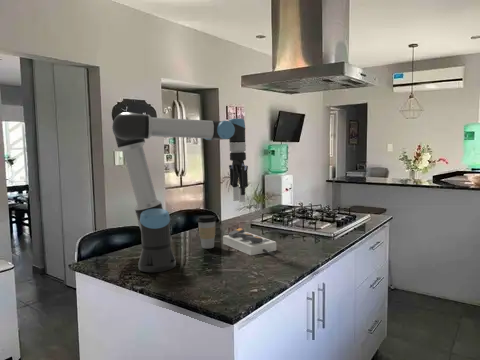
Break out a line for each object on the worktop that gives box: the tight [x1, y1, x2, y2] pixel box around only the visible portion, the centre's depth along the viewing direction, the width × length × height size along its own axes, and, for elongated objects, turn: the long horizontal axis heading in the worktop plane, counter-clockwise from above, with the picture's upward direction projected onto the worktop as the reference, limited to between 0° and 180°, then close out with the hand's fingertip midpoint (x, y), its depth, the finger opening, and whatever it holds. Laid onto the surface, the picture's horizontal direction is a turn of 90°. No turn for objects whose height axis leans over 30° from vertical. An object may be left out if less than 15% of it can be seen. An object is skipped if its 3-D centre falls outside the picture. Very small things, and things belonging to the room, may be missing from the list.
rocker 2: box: [236, 233, 253, 238], centre depth 187 cm, size 7×4×2 cm, turn 121°
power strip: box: [222, 231, 277, 256], centre depth 185 cm, size 14×34×5 cm, turn 31°
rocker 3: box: [245, 236, 263, 242], centre depth 180 cm, size 7×4×2 cm, turn 121°
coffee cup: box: [197, 214, 217, 250], centre depth 190 cm, size 9×9×15 cm
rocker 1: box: [227, 227, 246, 237], centre depth 194 cm, size 7×4×2 cm, turn 121°
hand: (239, 201), depth 184 cm, fingers open, 5 cm apart
